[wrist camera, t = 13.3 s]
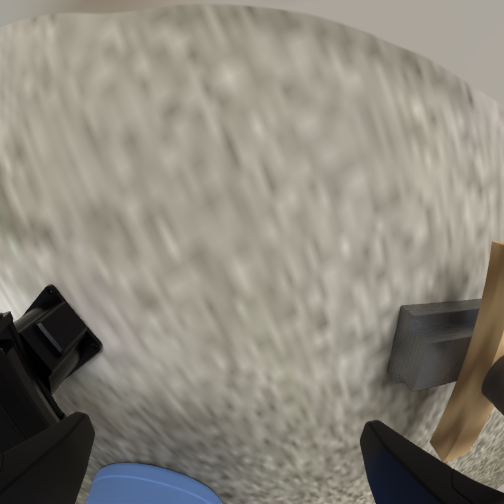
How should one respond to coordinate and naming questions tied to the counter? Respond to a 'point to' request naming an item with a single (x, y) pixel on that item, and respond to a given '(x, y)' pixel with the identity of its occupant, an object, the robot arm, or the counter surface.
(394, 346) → the ridge stand
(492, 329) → the tan grey t-shaped tool
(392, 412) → the counter surface
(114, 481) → the water jug
